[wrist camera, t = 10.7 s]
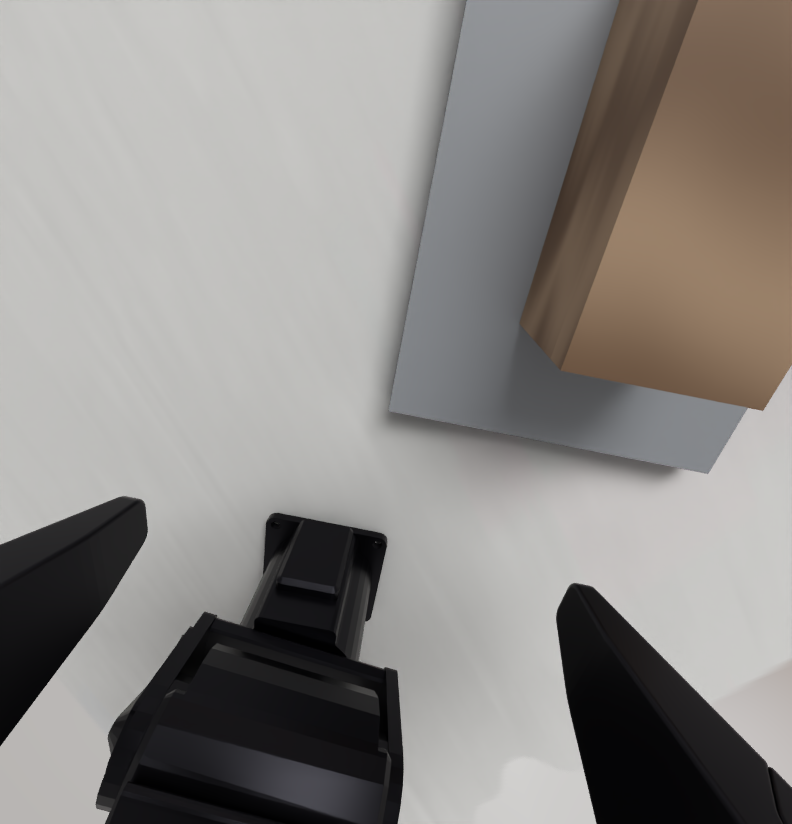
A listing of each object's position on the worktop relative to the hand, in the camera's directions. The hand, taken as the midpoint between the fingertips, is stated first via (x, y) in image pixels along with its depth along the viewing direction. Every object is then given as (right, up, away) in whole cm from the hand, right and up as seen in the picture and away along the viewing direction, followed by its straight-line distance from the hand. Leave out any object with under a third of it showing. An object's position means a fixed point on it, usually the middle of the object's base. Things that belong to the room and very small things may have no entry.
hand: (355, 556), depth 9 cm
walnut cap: (+9, +11, +5) cm, 15 cm away
